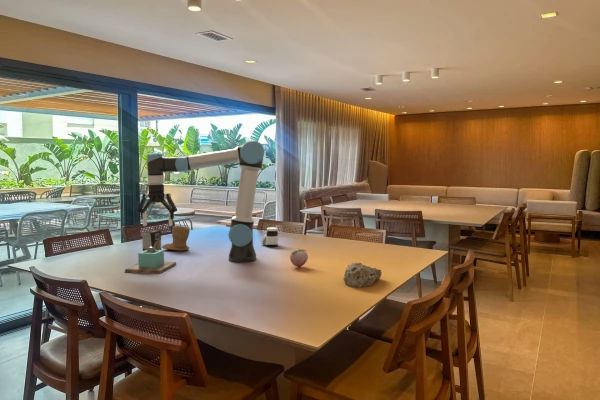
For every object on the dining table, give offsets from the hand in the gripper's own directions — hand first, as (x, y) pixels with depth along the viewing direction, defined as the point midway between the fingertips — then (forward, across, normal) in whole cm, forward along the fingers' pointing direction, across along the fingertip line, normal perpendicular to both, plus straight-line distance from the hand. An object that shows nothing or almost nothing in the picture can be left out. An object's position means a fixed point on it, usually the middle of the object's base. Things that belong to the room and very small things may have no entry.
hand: (157, 225), depth 215 cm
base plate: (+21, +2, +4) cm, 22 cm away
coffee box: (+21, +10, -13) cm, 27 cm away
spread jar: (+22, -46, -62) cm, 80 cm away
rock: (+23, -102, +17) cm, 106 cm away
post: (+21, +2, +4) cm, 22 cm away
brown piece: (+21, +7, -42) cm, 48 cm away
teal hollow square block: (+20, +2, +4) cm, 20 cm away
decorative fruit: (+22, -71, -6) cm, 75 cm away
